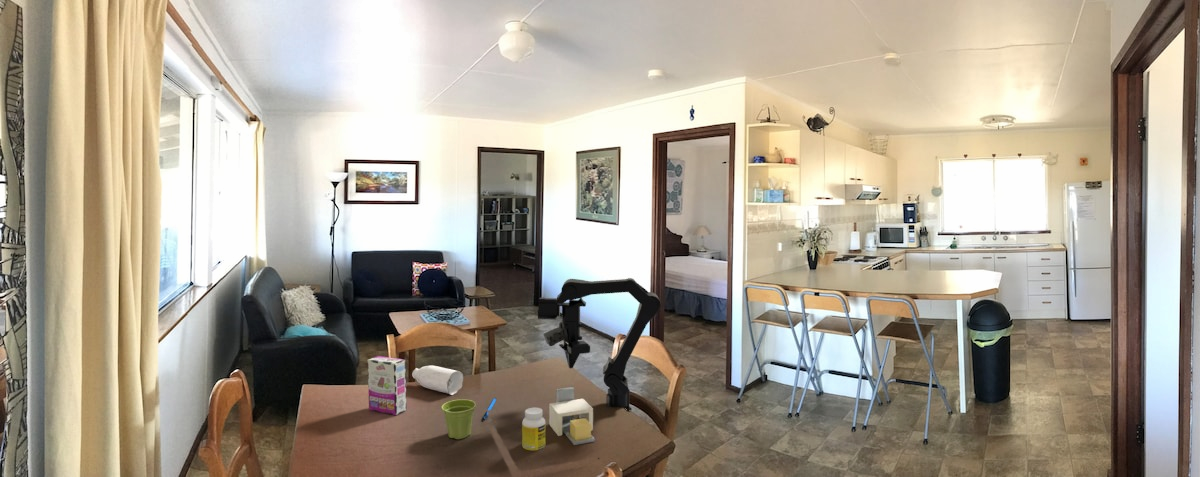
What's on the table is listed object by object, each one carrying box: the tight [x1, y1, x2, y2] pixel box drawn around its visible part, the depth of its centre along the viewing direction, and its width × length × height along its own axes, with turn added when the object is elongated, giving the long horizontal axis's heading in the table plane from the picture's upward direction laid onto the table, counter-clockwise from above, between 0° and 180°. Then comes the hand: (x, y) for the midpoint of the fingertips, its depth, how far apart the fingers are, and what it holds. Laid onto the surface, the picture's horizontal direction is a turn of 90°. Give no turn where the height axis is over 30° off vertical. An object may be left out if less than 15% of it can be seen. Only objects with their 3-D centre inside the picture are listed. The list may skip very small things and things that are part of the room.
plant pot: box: [441, 399, 477, 440], centre depth 161 cm, size 9×9×9 cm
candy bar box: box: [367, 355, 407, 416], centre depth 178 cm, size 11×5×16 cm, turn 68°
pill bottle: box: [521, 407, 546, 452], centre depth 152 cm, size 6×6×11 cm
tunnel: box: [548, 398, 594, 437], centre depth 167 cm, size 10×15×8 cm
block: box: [570, 418, 592, 441], centre depth 156 cm, size 4×4×4 cm
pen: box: [481, 397, 497, 423], centre depth 180 cm, size 1×19×1 cm, turn 178°
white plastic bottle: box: [411, 365, 464, 396], centre depth 197 cm, size 8×19×8 cm, turn 60°
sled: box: [555, 386, 596, 446], centre depth 161 cm, size 6×17×10 cm, turn 22°
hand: (570, 368), depth 180 cm, fingers closed
